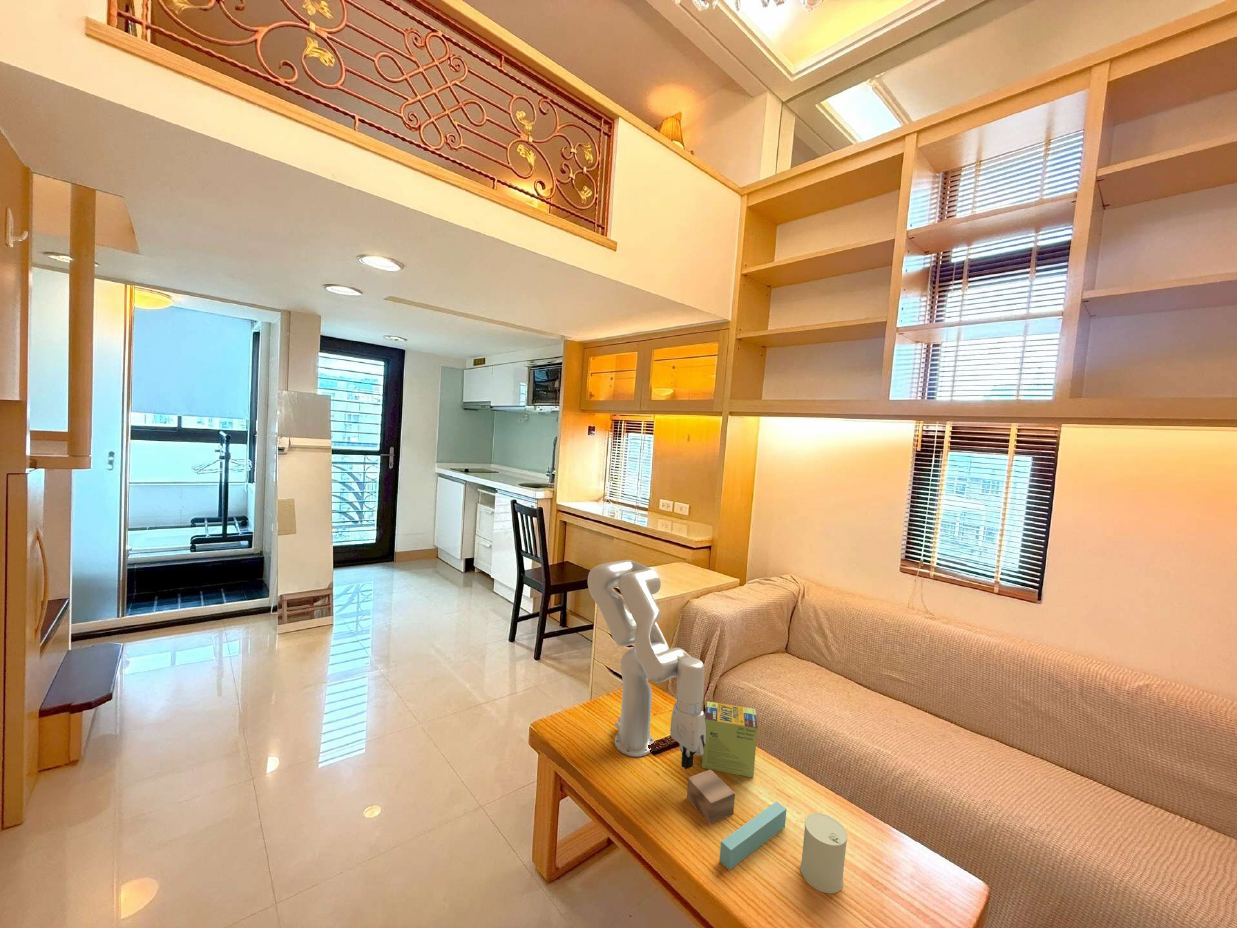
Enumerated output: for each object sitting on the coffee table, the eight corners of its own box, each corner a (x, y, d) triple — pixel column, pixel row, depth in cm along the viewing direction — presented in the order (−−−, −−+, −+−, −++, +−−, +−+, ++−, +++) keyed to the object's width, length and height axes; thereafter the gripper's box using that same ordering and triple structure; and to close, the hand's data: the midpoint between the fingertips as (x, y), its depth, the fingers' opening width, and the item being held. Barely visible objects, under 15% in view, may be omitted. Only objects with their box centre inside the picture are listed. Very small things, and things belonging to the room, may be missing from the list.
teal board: (719, 860, 116) (720, 840, 116) (775, 819, 130) (776, 801, 129) (729, 870, 114) (731, 850, 114) (784, 826, 127) (786, 808, 127)
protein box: (754, 778, 145) (758, 728, 144) (701, 768, 148) (704, 718, 147) (751, 755, 155) (755, 708, 154) (702, 746, 158) (705, 700, 157)
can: (821, 899, 108) (826, 848, 107) (791, 864, 117) (796, 816, 116) (852, 885, 112) (857, 836, 111) (820, 852, 120) (825, 806, 119)
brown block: (686, 798, 136) (687, 777, 135) (709, 789, 140) (710, 769, 139) (709, 824, 127) (711, 802, 127) (733, 814, 131) (735, 793, 130)
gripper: (661, 696, 143) (659, 757, 144) (700, 720, 131) (697, 786, 132) (680, 688, 147) (678, 748, 148) (718, 711, 135) (716, 775, 136)
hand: (687, 766), depth 140 cm, fingers closed
